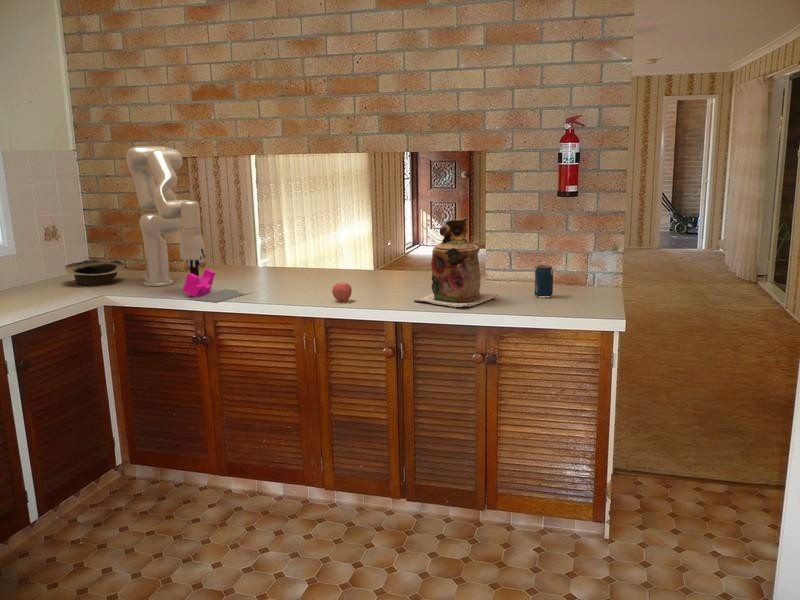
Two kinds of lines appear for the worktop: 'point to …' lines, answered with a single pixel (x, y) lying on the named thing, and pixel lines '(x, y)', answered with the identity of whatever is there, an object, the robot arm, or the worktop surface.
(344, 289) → the apple
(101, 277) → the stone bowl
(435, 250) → the cookie jar
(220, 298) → the mat
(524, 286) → the worktop surface
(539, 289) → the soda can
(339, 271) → the worktop surface
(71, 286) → the worktop surface
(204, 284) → the toy block
